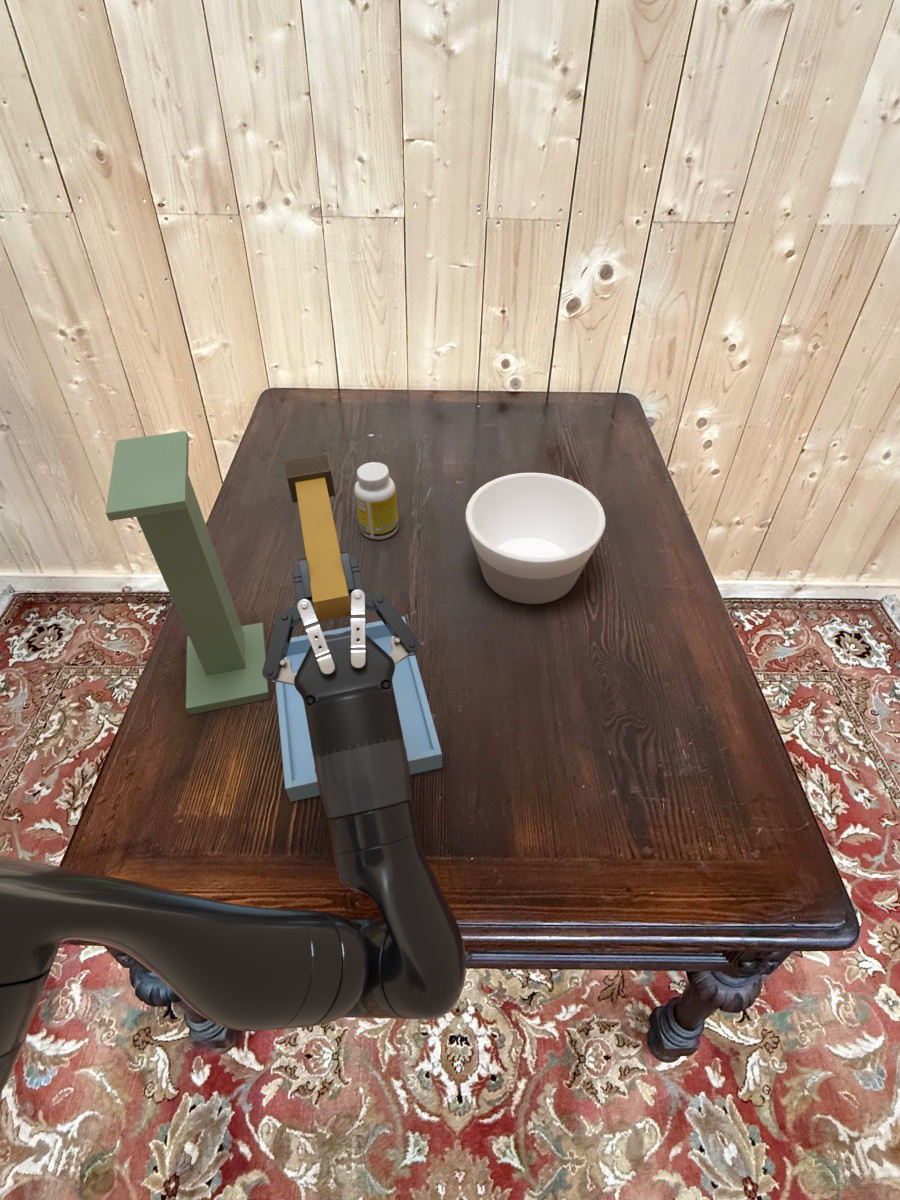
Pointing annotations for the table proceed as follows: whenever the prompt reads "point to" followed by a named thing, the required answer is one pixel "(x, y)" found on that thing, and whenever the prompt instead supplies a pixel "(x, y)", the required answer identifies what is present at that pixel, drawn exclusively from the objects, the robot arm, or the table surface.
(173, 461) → the stand
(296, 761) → the tray
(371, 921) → the robot arm
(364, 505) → the pill bottle
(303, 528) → the brass bolt
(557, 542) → the bowl
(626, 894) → the table surface
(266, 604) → the table surface
